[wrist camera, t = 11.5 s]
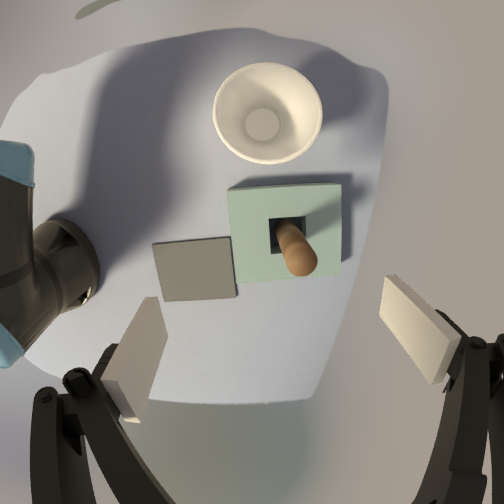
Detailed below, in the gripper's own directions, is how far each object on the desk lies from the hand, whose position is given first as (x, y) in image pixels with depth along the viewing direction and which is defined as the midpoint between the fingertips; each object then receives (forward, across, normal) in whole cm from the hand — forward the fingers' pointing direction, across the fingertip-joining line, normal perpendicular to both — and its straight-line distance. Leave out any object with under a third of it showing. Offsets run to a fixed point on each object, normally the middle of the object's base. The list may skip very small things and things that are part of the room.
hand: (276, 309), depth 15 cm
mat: (+23, -9, -7) cm, 26 cm away
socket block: (+23, +4, -2) cm, 23 cm away
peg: (+23, +4, -2) cm, 23 cm away
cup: (+23, +2, +12) cm, 26 cm away
